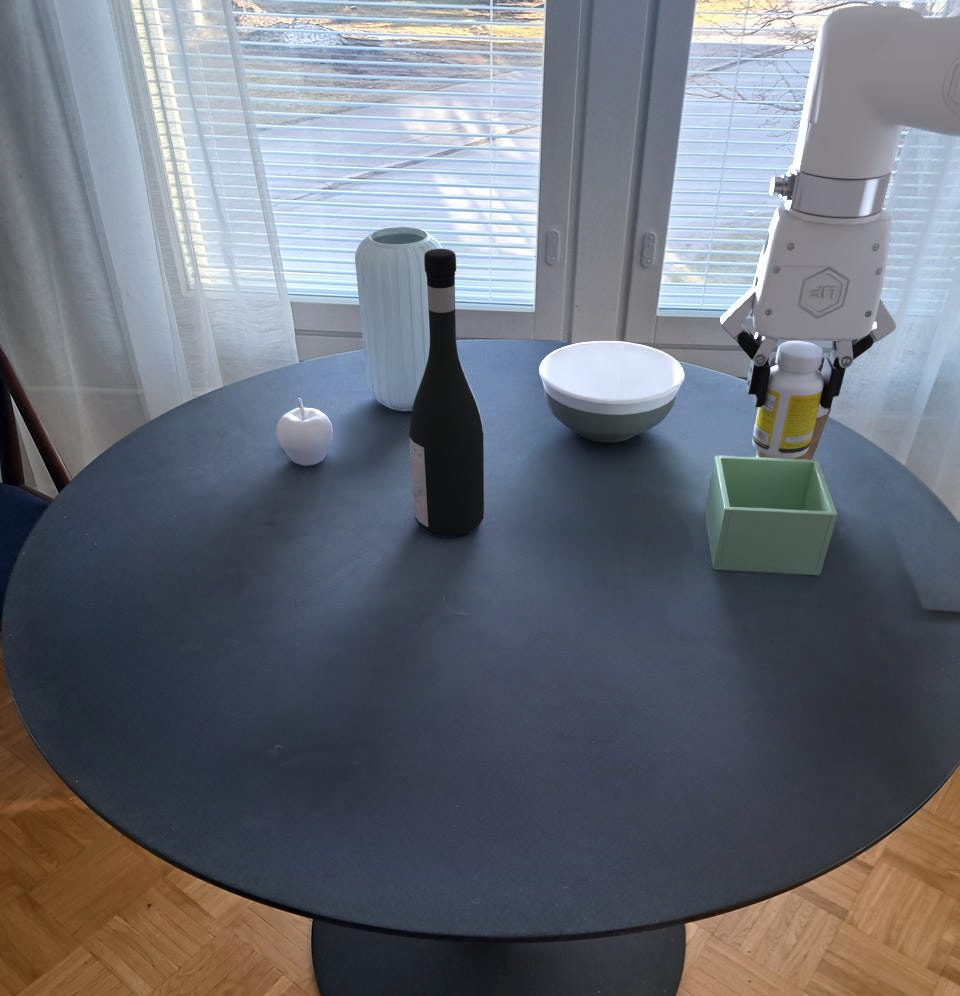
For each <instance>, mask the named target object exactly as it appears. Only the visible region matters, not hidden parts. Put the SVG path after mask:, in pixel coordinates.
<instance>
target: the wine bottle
mask: <svg viewBox="0 0 960 996" xmlns="http://www.w3.org/2000/svg"><path fill="white" fill-rule="evenodd" d="M424 266H425V272H426V276H427V290H428V308H429V329H430V348H429V356H428V361H427V365H426V368H425V372H424V375H423V378H422V381H421V383H420V386H419V389H418V392H417V395H416V397H415V400H414V404H413V408H412V411H411V413H410V421H409V431H408V433H409V434H408V438H409V440H408V441H409V454H410V468H411V469H410V471H411V483H412V486H411V487H412V499H413V500H412V501H413V513H414V520H415V522H416V523H417V525H418V527H419V528H420V529H421V530H423V531H425V532H426V533H428V534H429V535H432V536H435V537H440V538H441V537H442V538H454V537H455V538H456V537H462V536H464V535H466V534H469V533H471V532H473V531H474V530H476V529H477V528H478V527H479V526H480V525H481V523H482V521H483V519H484V516H485V473H484V472H485V467H484V465H485V464H484V463H485V462H484V461H485V460H484V459H485V458H484V457H485V456H484V450H485V449H484V427H483V419H482V416H481V415H482V414H481V410H480V407H479V404H478V401H477V398H476V395H475V394H474V390H473V388H472V387H471V384H470V382H469V379H468V377H467V375H466V372H465V369H464V367H463V365H462V361H461V358H460V355H459V350H458V344H457V326H456V325H457V323H456V319H457V318H456V272H457V255H456V252H455V251H454V250H451V249H448V248H442V249H432V250H429V251H427V252H426V253H425V255H424Z"/></svg>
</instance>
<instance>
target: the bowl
mask: <svg viewBox="0 0 960 996" xmlns="http://www.w3.org/2000/svg"><path fill="white" fill-rule="evenodd" d="M538 372H539V376H540V379H541V381H542V385H543V390H544V400H545V402H546V404H547V406H548V408H549V409H550V411H551V414H552V415H553V416H554V417H555V418H556V419H557V420H558V421H559V422H561V423H562V424H563V425H564V426H565V427H566V428H568V429H570V430H572V431H573V432H576V433H577V434H579V436H581V437H583V438H585V439H588V440H590V441H594V442H599V443H619V442H625V441H628V440H630V439H632V438H633V437H635V436H638V435H641V434H644V433H646V432H647V431H650V430H651V429H653V428H654V427H656V426H658V425H660V423H662V421H664V420H665V418H666V417H667V416H668V415H669V413H670V412H671V410H672V409H673V407H674V405H675V402H676V399H677V394H678V392H679V389H680V388H681V386H682V385H683V383H684V382H685V377H686V376H685V375H686V373H685V371H684V368H683V366H682V364H681V363H680V362H679V361H678V360H677V359H676V358H674V357H672V356H671V355H669V354H668V353H665V352H664V351H663V350H659V349H657V348H654V347H652V346H651V347H650V346H647V345H643V344H638V343H633V342H627V341H617V340H616V341H613V340H598V341H596V340H595V341H585V342H580V343H574V344H569V345H566V346H563V347H561V348H559V349H556V350H553V351H552V352H550V353H549V354H548V355H546V356H545V357H544V359H543V360H542V361H541V363H540V365H539V368H538Z"/></svg>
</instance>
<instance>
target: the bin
mask: <svg viewBox="0 0 960 996" xmlns="http://www.w3.org/2000/svg"><path fill="white" fill-rule="evenodd" d="M709 481H710V482H709V487H708V491H707V498H706V502H705V503H706V504H705V509H704V517H705V518H704V519H705V526H706V532H707V538H708V539H707V540H708V546H709V552H710V558H711V559H710V560H711V566H712V570H715V571H716V570H717V571H732V572H751V573H767V574H769V573H771V574H788V575H805V576H821V573H822V570H823V566H824V563H825V559H826V556H827V554H828V553H827V552H828V550H829V545H830V543H831V539H832V535H833V532H834V530H835V527H836V526H835V525H836V523H837V519H838V511H837V509H836V506H835V502H834V501H833V499H832V495H831V492H830V490H829V487H828V484H827V481H826V478H825V475H824V472H823V470H822V467H821V463H820V461H819V460H818V459H812V460H806V459H783V458H761V457H756V456H735V455H714V459H713V465H712V470H711V476H710V480H709Z"/></svg>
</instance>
